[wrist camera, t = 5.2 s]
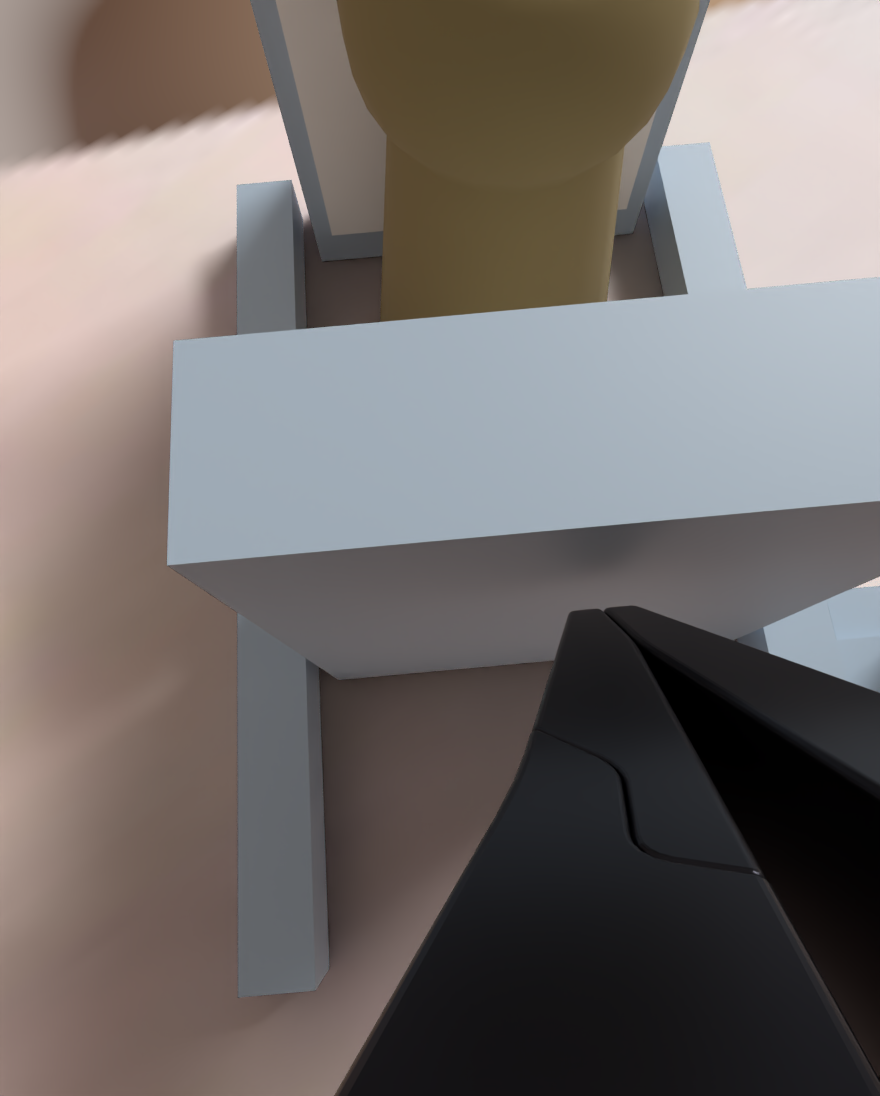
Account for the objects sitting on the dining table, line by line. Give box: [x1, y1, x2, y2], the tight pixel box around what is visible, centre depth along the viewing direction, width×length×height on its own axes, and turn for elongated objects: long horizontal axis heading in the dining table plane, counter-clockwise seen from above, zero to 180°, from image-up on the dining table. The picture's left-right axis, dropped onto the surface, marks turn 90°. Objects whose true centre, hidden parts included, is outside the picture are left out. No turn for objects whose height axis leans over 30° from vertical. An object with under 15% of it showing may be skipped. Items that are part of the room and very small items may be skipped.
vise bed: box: [237, 0, 880, 998], centre depth 13 cm, size 20×18×10 cm
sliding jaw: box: [167, 277, 880, 680], centre depth 12 cm, size 3×9×10 cm, turn 95°
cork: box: [336, 0, 700, 322], centre depth 14 cm, size 6×6×11 cm
